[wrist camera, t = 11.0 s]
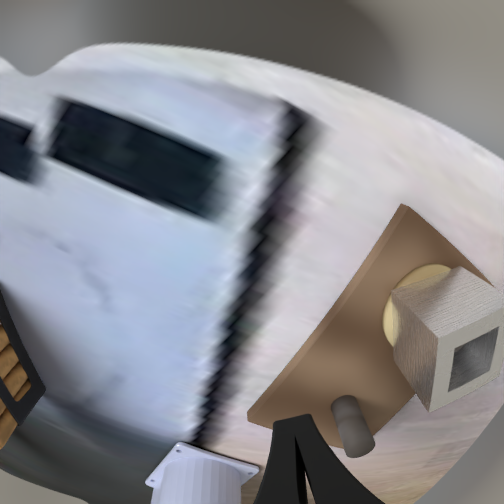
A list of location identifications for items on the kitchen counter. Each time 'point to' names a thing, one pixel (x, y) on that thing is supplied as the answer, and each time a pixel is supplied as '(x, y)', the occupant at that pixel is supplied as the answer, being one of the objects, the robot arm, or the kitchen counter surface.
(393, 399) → the board
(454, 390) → the collar
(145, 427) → the kitchen counter surface
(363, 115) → the kitchen counter surface
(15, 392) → the ammunition clip
